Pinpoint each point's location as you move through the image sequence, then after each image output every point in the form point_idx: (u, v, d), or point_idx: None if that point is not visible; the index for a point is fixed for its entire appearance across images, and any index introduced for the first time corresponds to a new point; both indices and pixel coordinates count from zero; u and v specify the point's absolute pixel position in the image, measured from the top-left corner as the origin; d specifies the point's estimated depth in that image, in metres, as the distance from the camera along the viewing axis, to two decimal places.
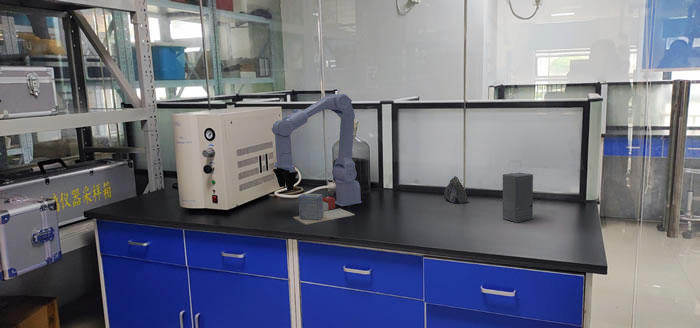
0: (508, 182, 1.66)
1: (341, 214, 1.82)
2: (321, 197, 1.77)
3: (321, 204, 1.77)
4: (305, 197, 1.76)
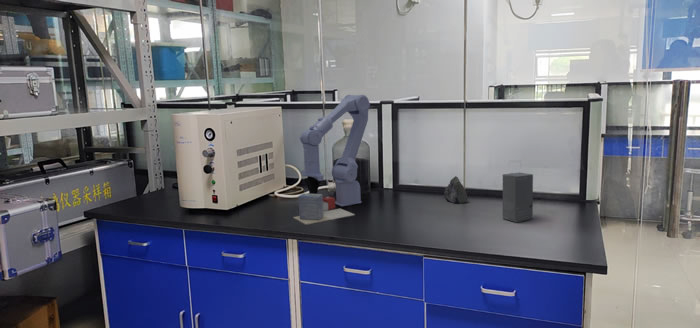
0: (508, 182, 1.66)
1: (341, 214, 1.82)
2: (321, 197, 1.77)
3: (321, 204, 1.77)
4: (305, 197, 1.76)
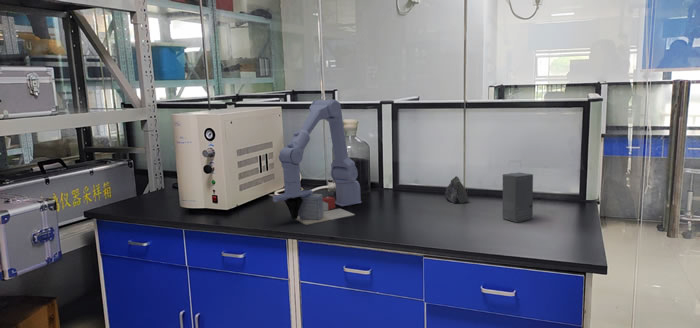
0: (508, 182, 1.66)
1: (341, 214, 1.82)
2: (321, 197, 1.77)
3: (321, 204, 1.77)
4: (305, 197, 1.76)
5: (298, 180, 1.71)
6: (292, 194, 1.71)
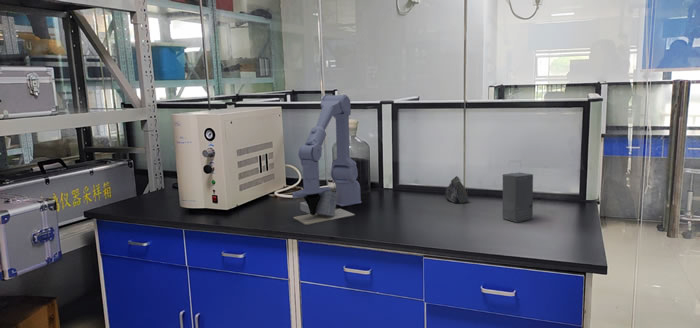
0: (508, 182, 1.66)
1: (341, 214, 1.82)
2: (335, 195, 1.80)
3: (334, 201, 1.79)
4: None
5: (318, 177, 1.75)
6: (311, 190, 1.74)
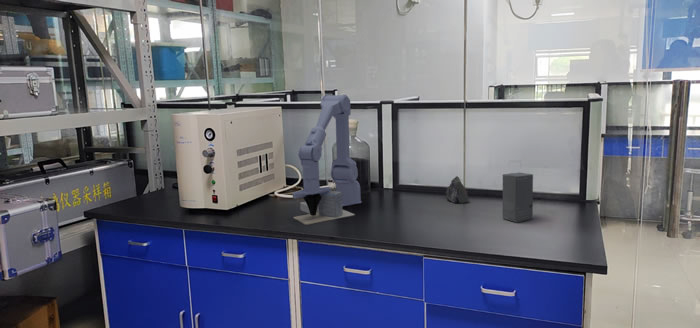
0: (508, 182, 1.66)
1: None
2: (340, 195, 1.79)
3: (339, 202, 1.80)
4: (324, 194, 1.80)
5: (318, 177, 1.75)
6: (311, 191, 1.74)
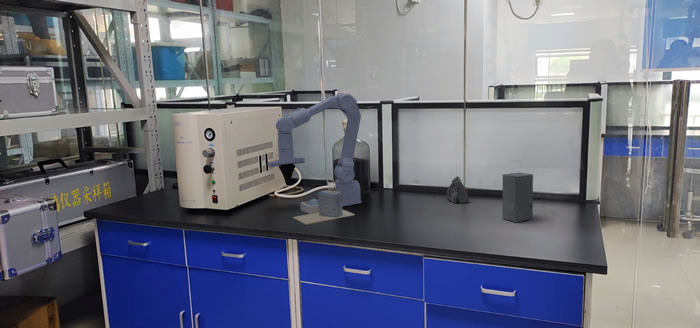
0: (508, 182, 1.66)
1: None
2: (340, 195, 1.79)
3: (339, 202, 1.80)
4: (324, 194, 1.80)
5: (287, 148, 1.87)
6: (285, 160, 1.88)
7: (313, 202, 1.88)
